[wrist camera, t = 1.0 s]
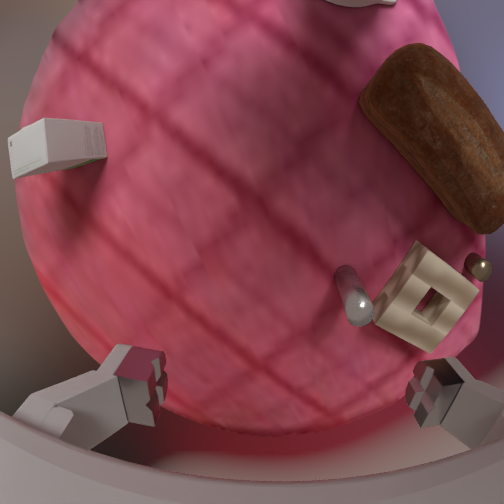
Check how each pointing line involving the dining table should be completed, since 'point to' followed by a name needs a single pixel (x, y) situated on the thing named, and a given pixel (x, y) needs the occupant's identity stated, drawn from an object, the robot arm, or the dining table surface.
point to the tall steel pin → (354, 296)
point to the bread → (441, 132)
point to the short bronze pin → (478, 267)
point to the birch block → (411, 293)
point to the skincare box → (55, 146)
